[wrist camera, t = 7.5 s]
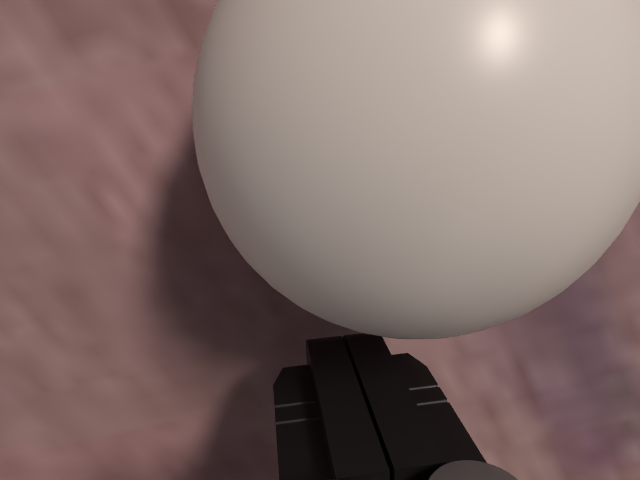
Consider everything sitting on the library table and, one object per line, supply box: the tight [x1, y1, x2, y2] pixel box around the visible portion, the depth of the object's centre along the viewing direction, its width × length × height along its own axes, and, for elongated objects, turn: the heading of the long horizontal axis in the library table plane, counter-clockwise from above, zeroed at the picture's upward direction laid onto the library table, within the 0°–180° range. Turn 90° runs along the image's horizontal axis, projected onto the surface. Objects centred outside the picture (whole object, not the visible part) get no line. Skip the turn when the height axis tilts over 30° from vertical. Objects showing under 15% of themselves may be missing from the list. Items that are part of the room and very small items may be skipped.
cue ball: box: [192, 0, 640, 339], centre depth 7 cm, size 6×6×6 cm
